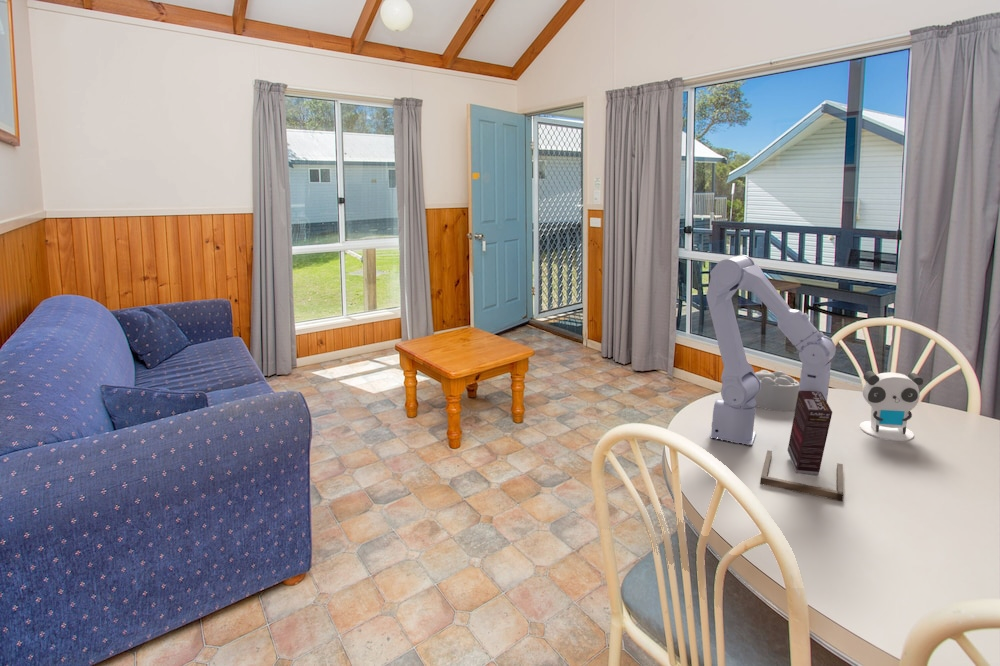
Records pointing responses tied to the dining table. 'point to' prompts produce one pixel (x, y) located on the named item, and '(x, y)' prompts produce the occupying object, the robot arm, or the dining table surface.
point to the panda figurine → (890, 404)
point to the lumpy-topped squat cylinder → (777, 391)
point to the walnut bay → (803, 487)
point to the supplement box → (809, 432)
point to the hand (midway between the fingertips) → (806, 447)
